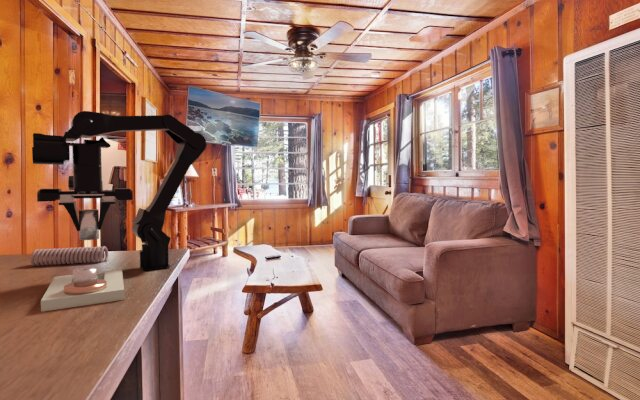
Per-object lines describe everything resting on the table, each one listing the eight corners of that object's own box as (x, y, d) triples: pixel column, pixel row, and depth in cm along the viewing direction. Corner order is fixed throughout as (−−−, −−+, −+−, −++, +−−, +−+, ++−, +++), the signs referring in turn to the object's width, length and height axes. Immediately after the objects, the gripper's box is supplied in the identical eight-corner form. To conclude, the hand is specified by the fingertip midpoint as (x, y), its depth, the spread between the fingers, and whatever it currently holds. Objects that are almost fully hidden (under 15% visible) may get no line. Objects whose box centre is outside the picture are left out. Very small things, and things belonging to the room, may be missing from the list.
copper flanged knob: (106, 282, 74) (106, 263, 74) (106, 291, 68) (105, 270, 68) (66, 287, 71) (65, 267, 70) (61, 297, 65) (61, 275, 64)
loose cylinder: (99, 236, 88) (98, 209, 88) (98, 239, 85) (98, 210, 84) (80, 238, 86) (79, 209, 86) (78, 240, 82) (77, 210, 82)
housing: (122, 277, 85) (121, 269, 85) (124, 299, 69) (124, 289, 69) (55, 285, 78) (54, 276, 78) (41, 311, 63) (40, 300, 63)
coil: (28, 252, 94) (104, 248, 99) (36, 247, 98) (109, 244, 103) (29, 268, 94) (105, 264, 100) (37, 263, 99) (110, 259, 104)
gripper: (130, 167, 96) (131, 224, 97) (44, 165, 86) (46, 228, 87) (132, 166, 86) (133, 229, 87) (35, 163, 77) (38, 234, 78)
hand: (89, 230), depth 85 cm, fingers closed on loose cylinder, 4 cm apart
